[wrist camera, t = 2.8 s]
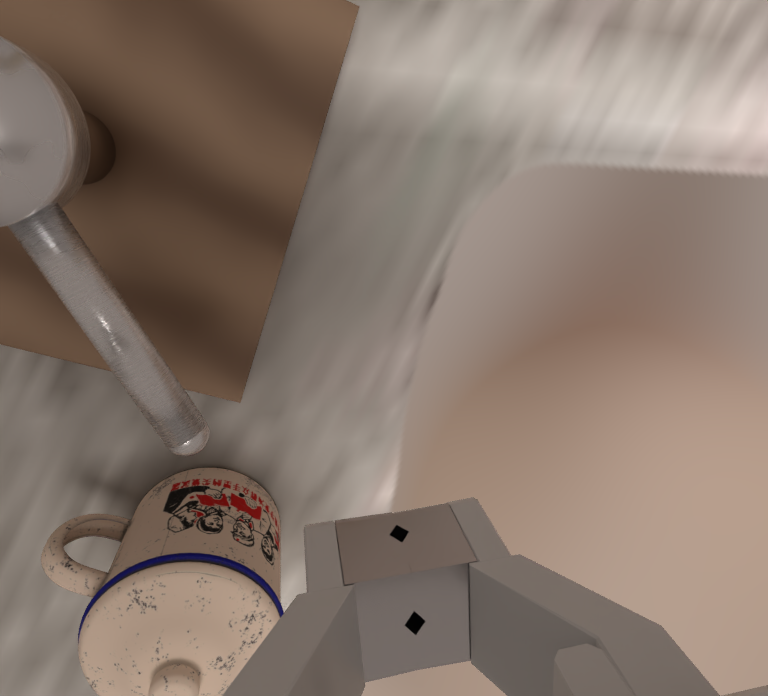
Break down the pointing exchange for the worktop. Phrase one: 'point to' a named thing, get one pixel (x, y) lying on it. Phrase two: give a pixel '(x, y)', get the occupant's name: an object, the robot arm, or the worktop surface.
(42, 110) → the grey rod with dome
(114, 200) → the stand
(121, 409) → the worktop surface
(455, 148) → the worktop surface
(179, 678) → the teacup with lid
